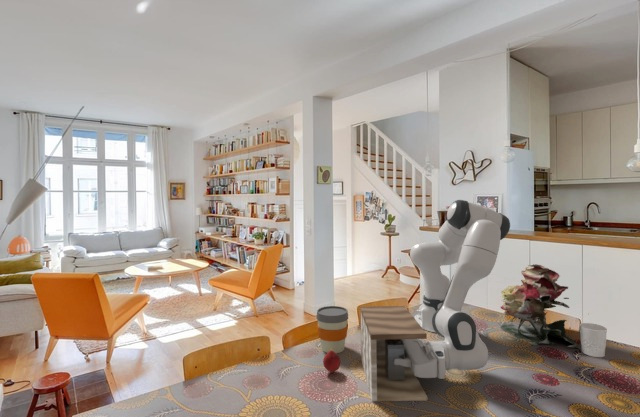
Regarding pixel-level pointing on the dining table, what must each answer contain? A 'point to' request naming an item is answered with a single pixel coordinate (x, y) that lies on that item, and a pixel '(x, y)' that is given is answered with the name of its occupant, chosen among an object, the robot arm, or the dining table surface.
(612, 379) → the dining table surface
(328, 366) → the red rounded piece
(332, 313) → the reusable coffee cup
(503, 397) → the dining table surface
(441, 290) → the robot arm
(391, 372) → the tea tin
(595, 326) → the white cup
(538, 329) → the rose bouquet
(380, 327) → the wooden cubby shelf
